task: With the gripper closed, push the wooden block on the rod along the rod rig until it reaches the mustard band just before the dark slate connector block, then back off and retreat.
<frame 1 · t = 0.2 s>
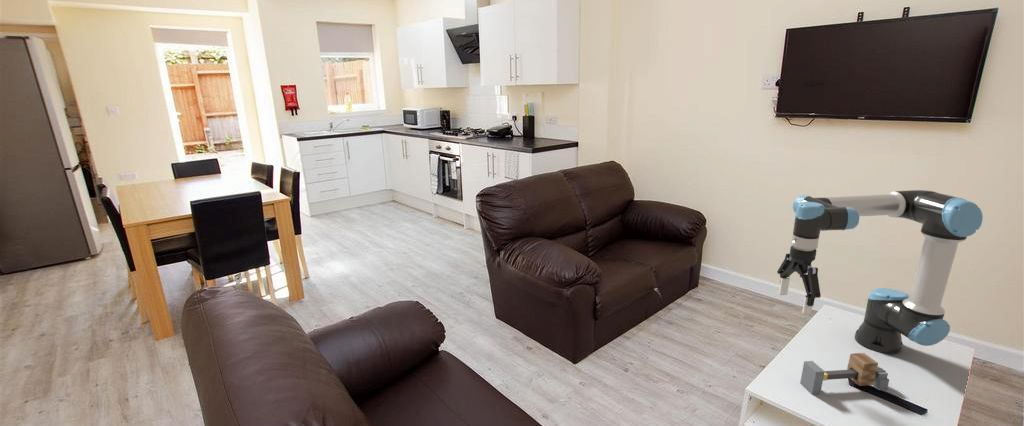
hand: (794, 303, 162), 28 cm above the table, fingers open, 13 cm apart
rod rig: (844, 386, 160), on the table
wooden block on rod: (861, 369, 159), point 7 cm above the table, slide at 0.0 cm
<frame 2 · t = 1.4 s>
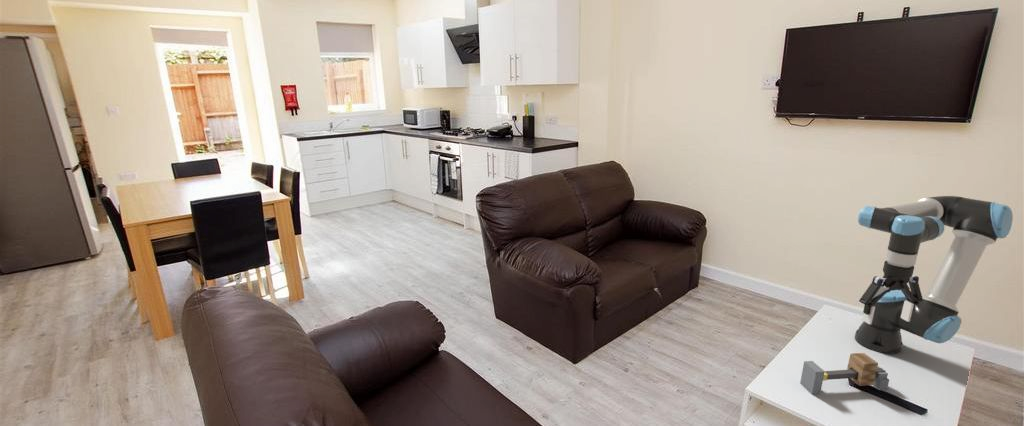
hand: (886, 321, 155), 25 cm above the table, fingers open, 13 cm apart
nothing on the table moved.
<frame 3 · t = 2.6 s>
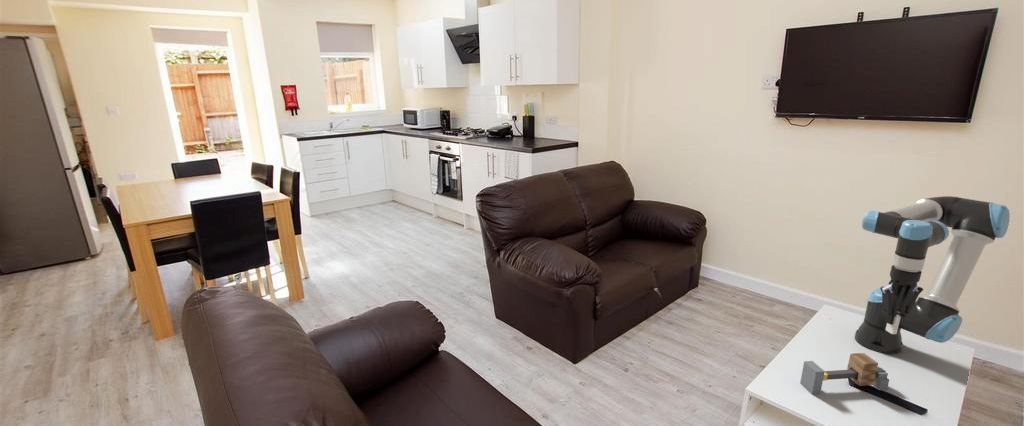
hand: (890, 331, 155), 21 cm above the table, fingers closed
nothing on the table moved.
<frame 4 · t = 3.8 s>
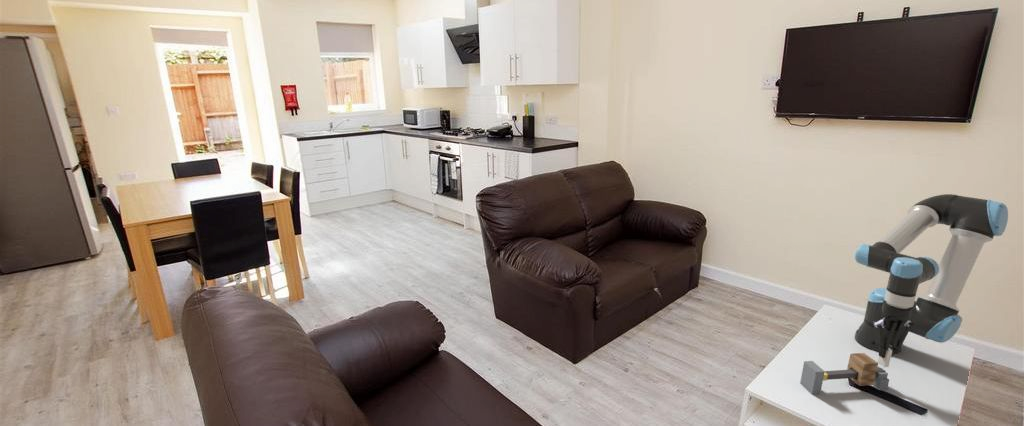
hand: (883, 364, 159), 8 cm above the table, fingers closed
nothing on the table moved.
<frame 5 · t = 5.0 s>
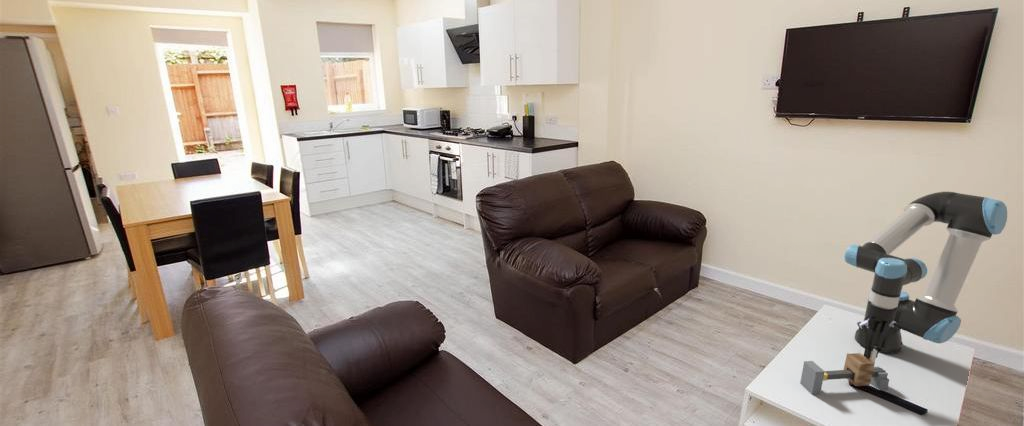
hand: (868, 365, 158), 8 cm above the table, fingers closed
wooden block on rod: (858, 369, 159), point 7 cm above the table, slide at 1.3 cm, touching gripper
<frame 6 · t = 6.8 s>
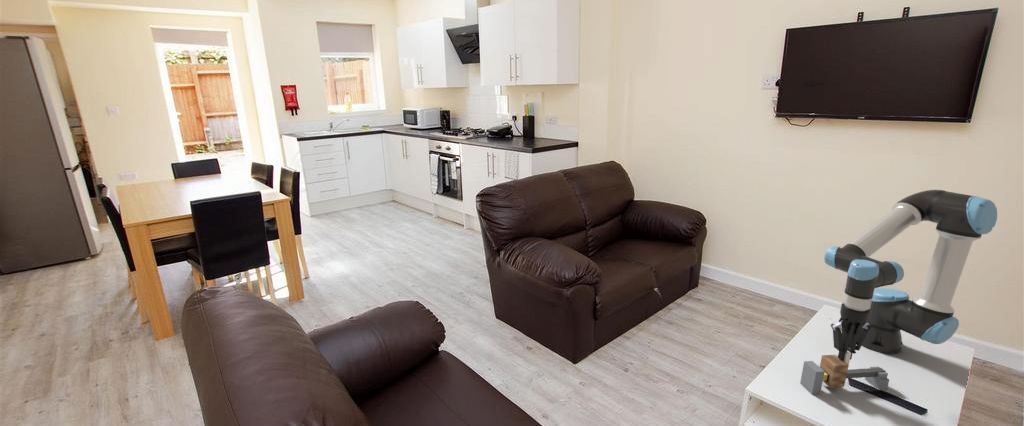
hand: (842, 367, 158), 8 cm above the table, fingers closed
wooden block on rod: (832, 370, 158), point 7 cm above the table, slide at 10.4 cm, touching gripper
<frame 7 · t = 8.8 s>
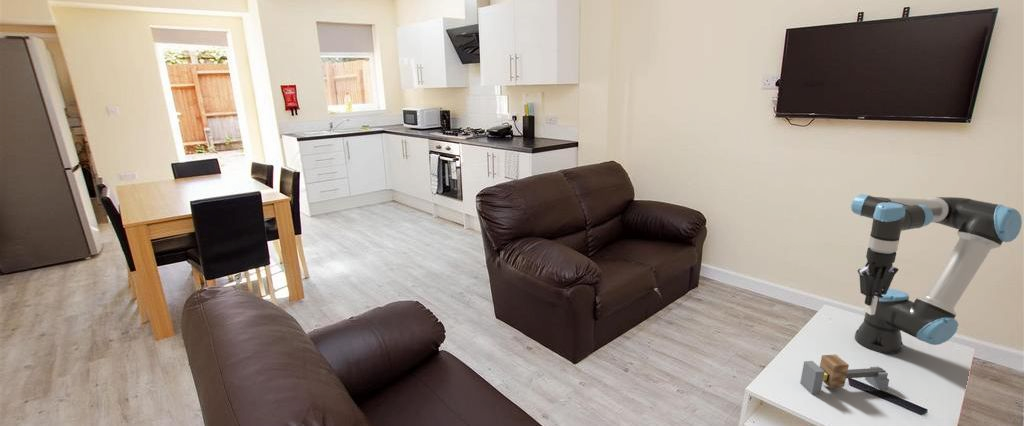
hand: (869, 312, 158), 26 cm above the table, fingers closed
wooden block on rod: (832, 370, 158), point 7 cm above the table, slide at 10.4 cm
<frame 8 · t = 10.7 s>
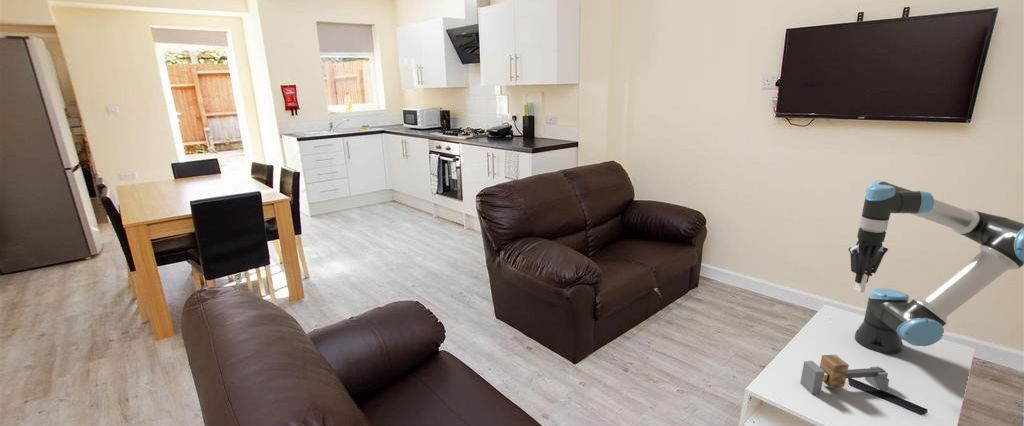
hand: (859, 290, 166), 29 cm above the table, fingers closed
nothing on the table moved.
at the end: wooden block on rod slide at 10.4 cm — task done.
